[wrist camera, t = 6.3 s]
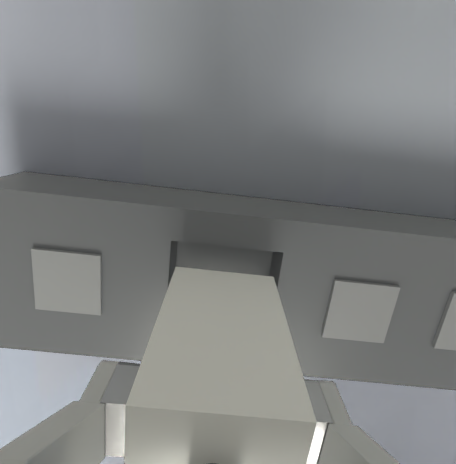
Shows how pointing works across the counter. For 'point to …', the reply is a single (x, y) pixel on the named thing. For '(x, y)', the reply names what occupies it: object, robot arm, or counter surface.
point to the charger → (219, 378)
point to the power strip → (227, 260)
